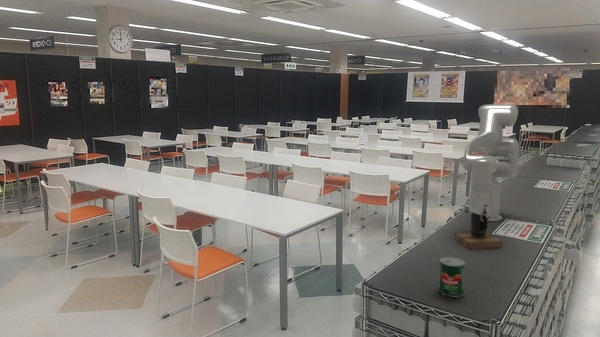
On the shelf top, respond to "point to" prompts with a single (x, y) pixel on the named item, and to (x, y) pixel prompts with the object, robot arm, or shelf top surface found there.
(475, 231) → the supplement bottle
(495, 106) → the robot arm
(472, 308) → the shelf top surface
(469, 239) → the wavy wooden tray
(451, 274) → the canned tomato
